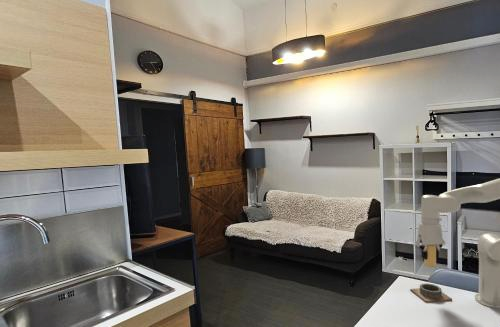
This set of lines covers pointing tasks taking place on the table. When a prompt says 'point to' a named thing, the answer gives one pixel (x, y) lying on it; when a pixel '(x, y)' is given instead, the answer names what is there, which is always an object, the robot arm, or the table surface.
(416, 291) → the mount plate
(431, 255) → the pale yellow cylinder
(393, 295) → the table surface
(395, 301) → the table surface
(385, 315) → the table surface
